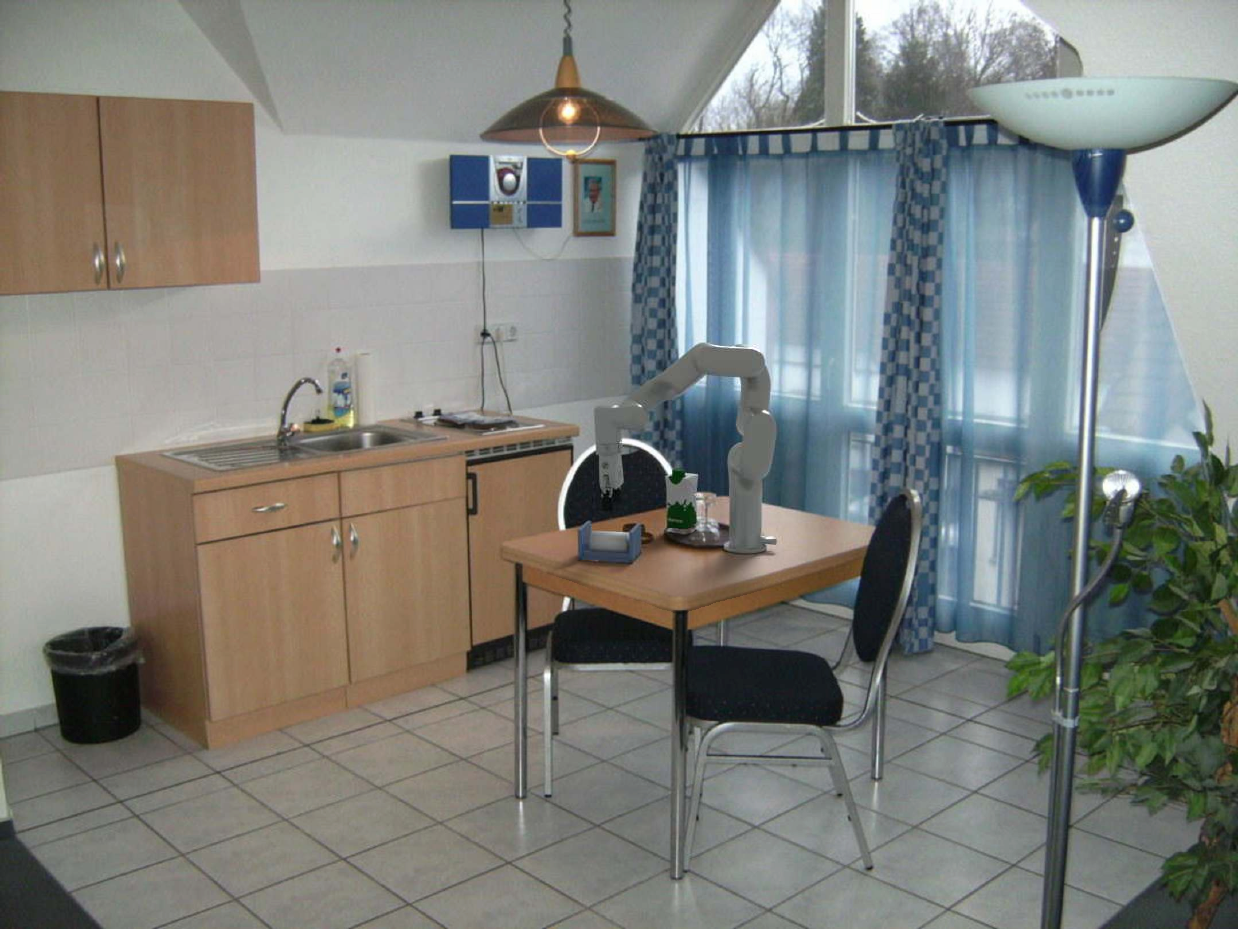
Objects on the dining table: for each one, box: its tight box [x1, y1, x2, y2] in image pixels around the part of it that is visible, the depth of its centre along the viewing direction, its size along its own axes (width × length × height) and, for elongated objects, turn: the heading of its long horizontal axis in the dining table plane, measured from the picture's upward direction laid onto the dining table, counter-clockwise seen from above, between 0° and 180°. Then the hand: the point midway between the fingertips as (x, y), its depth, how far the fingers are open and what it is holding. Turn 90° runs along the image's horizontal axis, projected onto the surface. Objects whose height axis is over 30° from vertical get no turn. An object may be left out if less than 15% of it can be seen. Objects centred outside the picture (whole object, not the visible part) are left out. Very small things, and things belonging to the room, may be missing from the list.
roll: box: [589, 530, 629, 553], centre depth 366 cm, size 12×6×6 cm, turn 77°
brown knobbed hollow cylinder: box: [622, 522, 654, 549], centre depth 382 cm, size 18×20×6 cm
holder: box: [577, 520, 642, 564], centre depth 366 cm, size 16×11×9 cm
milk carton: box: [664, 468, 699, 530], centre depth 393 cm, size 9×9×20 cm
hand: (611, 506), depth 364 cm, fingers open, 9 cm apart
